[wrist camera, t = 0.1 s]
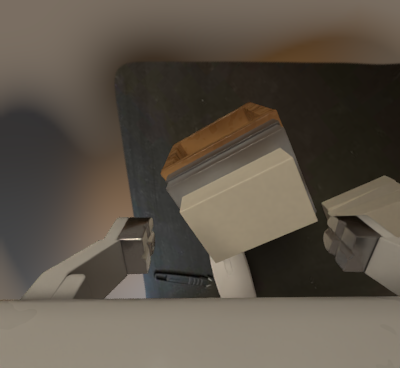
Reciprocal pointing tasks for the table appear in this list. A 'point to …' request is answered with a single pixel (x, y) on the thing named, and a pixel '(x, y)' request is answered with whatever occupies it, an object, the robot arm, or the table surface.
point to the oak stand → (225, 149)
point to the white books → (370, 203)
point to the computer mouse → (233, 277)
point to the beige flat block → (249, 206)
